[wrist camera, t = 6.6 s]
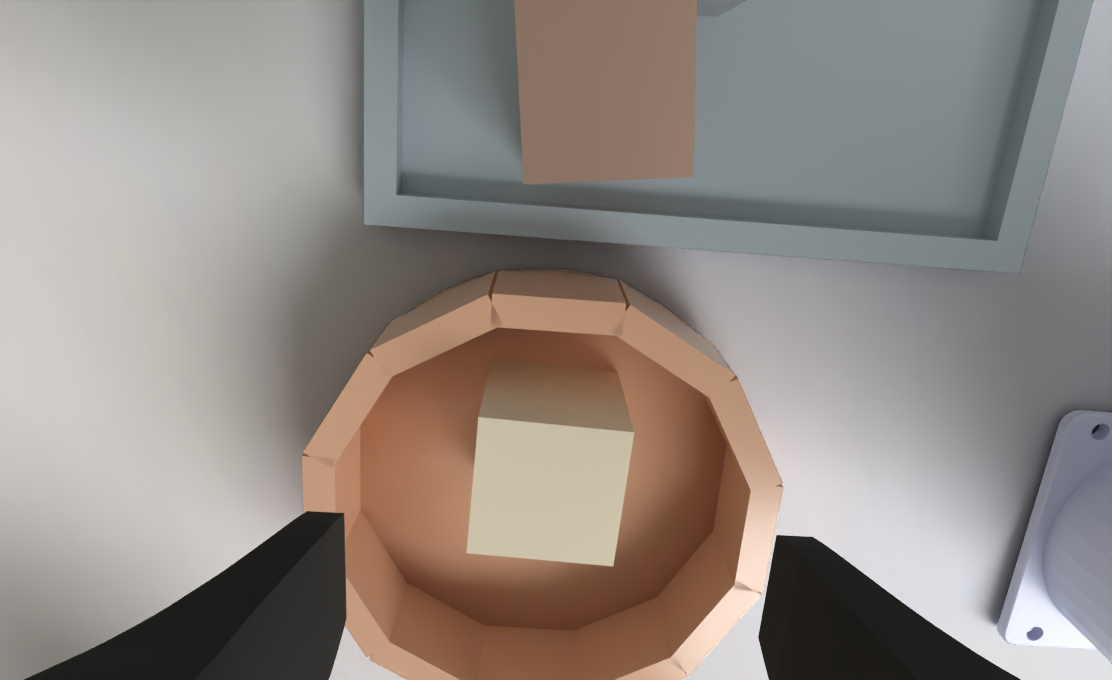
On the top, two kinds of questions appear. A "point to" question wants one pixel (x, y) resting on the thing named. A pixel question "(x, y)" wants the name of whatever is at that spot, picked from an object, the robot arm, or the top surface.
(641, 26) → the cardboard tan cube
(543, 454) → the cream matte cube
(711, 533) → the bowl
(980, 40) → the parts tray
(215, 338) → the top surface
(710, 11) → the plain grey cube
